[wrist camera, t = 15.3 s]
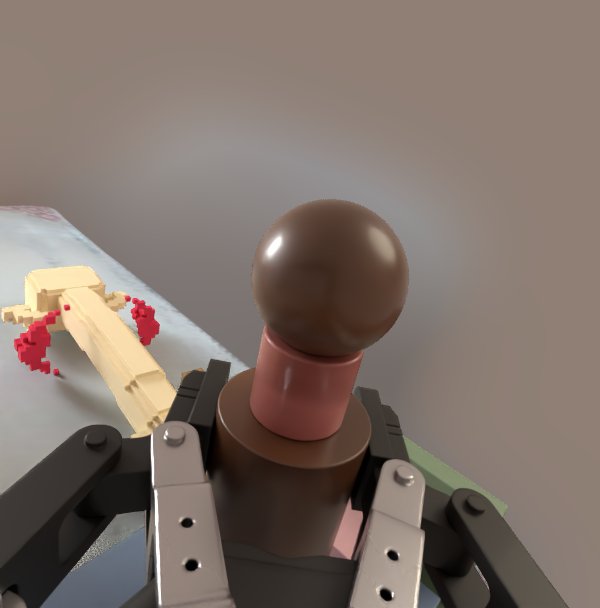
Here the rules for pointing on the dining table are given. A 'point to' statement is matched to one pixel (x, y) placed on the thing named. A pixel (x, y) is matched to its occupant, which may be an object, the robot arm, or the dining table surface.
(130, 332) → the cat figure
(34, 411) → the dining table surface
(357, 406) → the skittle
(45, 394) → the dining table surface
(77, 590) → the bed
